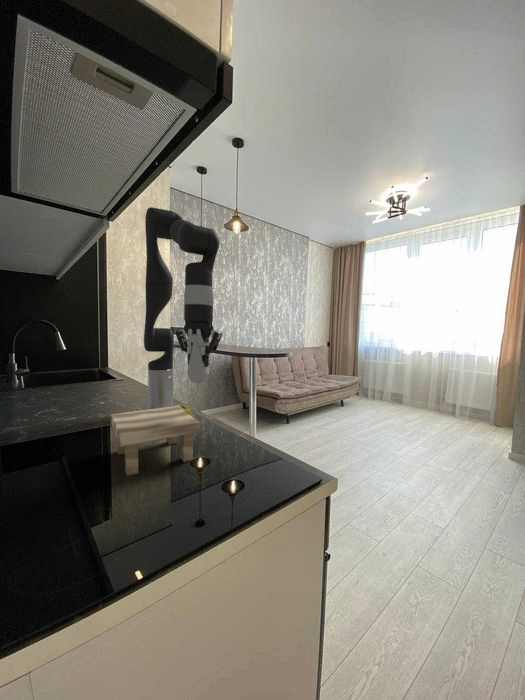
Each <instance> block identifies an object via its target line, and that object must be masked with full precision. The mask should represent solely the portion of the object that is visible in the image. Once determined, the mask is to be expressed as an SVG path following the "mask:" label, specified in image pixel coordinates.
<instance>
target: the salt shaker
mask: <svg viewBox="0 0 525 700" xmlns="http://www.w3.org/2000/svg"><path fill="white" fill-rule="evenodd" d="M191 342H193V346H192V351H191V356H190V361H189V366H188V368H187V371H186V373H187V374H186V375H187V377H188V379H189V381H190V383H195V384H200V383H206V382H207V379H208V377H209V374H210V369H209V366H208V367H205V365H204V362H202V356H201V355H202V354H201V348H200V346H199V336H197V334H192V336H191ZM205 342H206V341H204V343H205Z"/></svg>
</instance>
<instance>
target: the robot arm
mask: <svg viewBox="0 0 525 700" xmlns="http://www.w3.org/2000/svg"><path fill="white" fill-rule="evenodd" d="M144 220H145V222H144V223H145V224H144V226H145V227H144V228H145V245H146V246H145V247H146V266H145V267H146V268H145V269H146V270H145V318H144V319H145V320H144V330H143V331H144V333H143V346H144V350H145V351H146V352H150V353H154V352H156V353H157V352H158V353H159V352H163V355H161V356H160V357H157V358H155V359H152V360H150V361H148V364H147V367H148V368H147V371H148V372H147V373H148V374H147V375H148V376H147V378H148V379H147V380H148V386H147V387H148V389H147V390H148V391H147V392H148V394H147V395H148V396H147V397H148V403H147V405H148V410H149V409H157V408H165V407H173V406H174V345H175V344H174V343H175V342H174V340H175V339H174V338H175V336H176V338H177V341H178V344H179V348H180V349H181V351H182V352H185V353H186V354H187V365H188V366H189V361H190V356H191V351H192V346H193V342H191V336H192V334H197V336H199V346H200V348H201V354H202V355H201V356H202V362H204V365H205V367H208V368H209V364H210V357H209V356H210V355H211V354H212V353H216V352H217V348H218V346H219V344H220V342H221V339H222V337H223V332H222V331H218V330H216V329H214V326H213V321H214V293H213V270H214V266H215V263H216V257H217V255H218V251H219V247H220V236H219V235H218V232H217V231H216V230H215V229H213V228H209V227H205V226H201V225H198V224H197V225H196V224H194V223H193V222H190V221H188V220H185V219H184V218H182V216H180V215H179V214H178V213H177V212H175V211H172V210H169V209H163V208H157V207H152V206H151V207H149V208H147V209H146V213H145V219H144ZM158 239H162V240H170V241H171V240H172V241H173V242H174V243H175V244H177V245H178V246H179V249H180V250H181V251H183V252H184V253H188V254H193V255H199V256H202V259H201V260H200V261H196V262H195V261H194V262H189V263H187V264H186V265H185V267H184V268H185V269H184V278H185V280H184V281H185V282H184V285H185V287H184V292H183V293H184V294H183V319H184V323H185V324H184V326H183V329H180V330H175V336H174V331H173V329H172V328H162V327H155V324H156V321H157V319H158V317H159V316H160V315H161V313H162V312H163V310H164V309H165V308H166V306H167V305H168V304H169V302H170V301H171V299H172V296H173V283H174V281H173V280H174V279H173V276H172V273H171V272H170V269H169V267H168V266H167V265H166V262H165V261H164V258H163V257H162V255H161V254H162V253H161V252H160V249H159V245H158ZM210 337H211V339H210ZM204 341H206V342H205V343H204Z"/></svg>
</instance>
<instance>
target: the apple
mask: <svg viewBox="0 0 525 700" xmlns="http://www.w3.org/2000/svg"><path fill="white" fill-rule="evenodd" d="M173 406H178V407H180V408H181V409H183V410H184V411H185V412H187V413H188V414H189V415H191V416H192V417H193V413H192V410H191V408H190V407H189V406H187V405H186V404H185V405H184V404H175V405H174V404H173Z"/></svg>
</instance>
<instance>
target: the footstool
mask: <svg viewBox="0 0 525 700" xmlns="http://www.w3.org/2000/svg"><path fill="white" fill-rule="evenodd" d="M110 424H111V427H112V429H113V430H114V433H115V435H116V440H117V441H116V442H117V443H116V444H117V449H116V450H117V451H118V452H117V454H118V455H124V472H125V475H126V476H132V475H137V474H139V444H140V443H145V442H151V441H157V440H162V439H165V440H166V443H167V444H168V446H169V445H174V444H178V436H180V460H181V461H182V462H183V463H186V462H191V461H193V460H194V433H200V431H201V422H200V421H199V420H197V419H196V418H195V417H193V415H192V416H191V415H189V414H188V413H187V412H185V411H184V410H183V409H181V408H180V407H178V406H174V405H173V407H165V408H157V409H149V408H148V409H143V410H134V411H127V412H120V413H112V414H110Z"/></svg>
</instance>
